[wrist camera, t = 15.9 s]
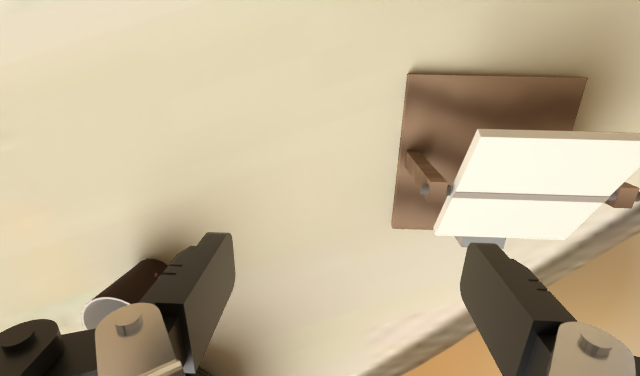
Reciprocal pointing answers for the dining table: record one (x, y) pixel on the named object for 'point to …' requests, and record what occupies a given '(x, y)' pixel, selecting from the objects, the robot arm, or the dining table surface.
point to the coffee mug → (122, 292)
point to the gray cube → (480, 240)
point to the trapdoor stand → (472, 132)
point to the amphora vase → (197, 373)
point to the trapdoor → (535, 182)
